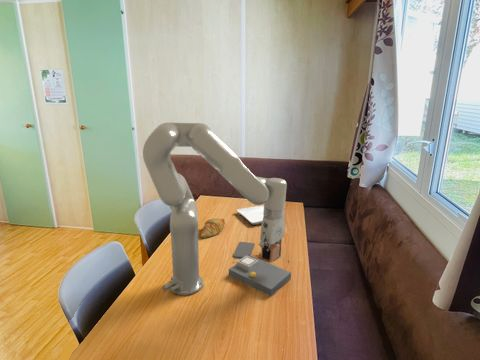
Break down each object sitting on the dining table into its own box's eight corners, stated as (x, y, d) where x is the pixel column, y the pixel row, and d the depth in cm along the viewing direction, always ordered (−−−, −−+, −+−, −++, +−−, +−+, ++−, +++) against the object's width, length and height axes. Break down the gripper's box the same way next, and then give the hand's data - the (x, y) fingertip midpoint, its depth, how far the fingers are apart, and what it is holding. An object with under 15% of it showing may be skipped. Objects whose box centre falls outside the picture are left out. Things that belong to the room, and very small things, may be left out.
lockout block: (271, 261, 116) (272, 249, 114) (260, 256, 119) (261, 245, 117) (278, 256, 119) (280, 244, 118) (268, 252, 122) (269, 240, 121)
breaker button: (248, 269, 123) (248, 264, 122) (240, 265, 125) (240, 261, 125) (254, 264, 126) (254, 260, 125) (246, 261, 128) (246, 257, 128)
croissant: (207, 247, 153) (213, 235, 149) (191, 234, 155) (197, 223, 151) (227, 229, 171) (233, 219, 167) (213, 218, 173) (218, 208, 170)
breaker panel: (270, 296, 111) (271, 284, 110) (228, 275, 123) (228, 264, 122) (290, 279, 122) (291, 268, 121) (250, 261, 134) (250, 251, 133)
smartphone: (255, 243, 149) (249, 258, 135) (255, 244, 150) (249, 260, 136) (239, 241, 151) (232, 256, 137) (239, 243, 151) (232, 258, 137)
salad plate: (235, 214, 185) (235, 208, 184) (266, 209, 194) (266, 204, 193) (251, 228, 167) (251, 222, 166) (285, 222, 176) (285, 216, 175)
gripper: (269, 221, 105) (265, 268, 110) (294, 208, 118) (289, 251, 123) (251, 215, 110) (248, 261, 115) (277, 203, 123) (273, 245, 128)
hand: (270, 255), depth 119 cm, fingers closed on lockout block, 4 cm apart
